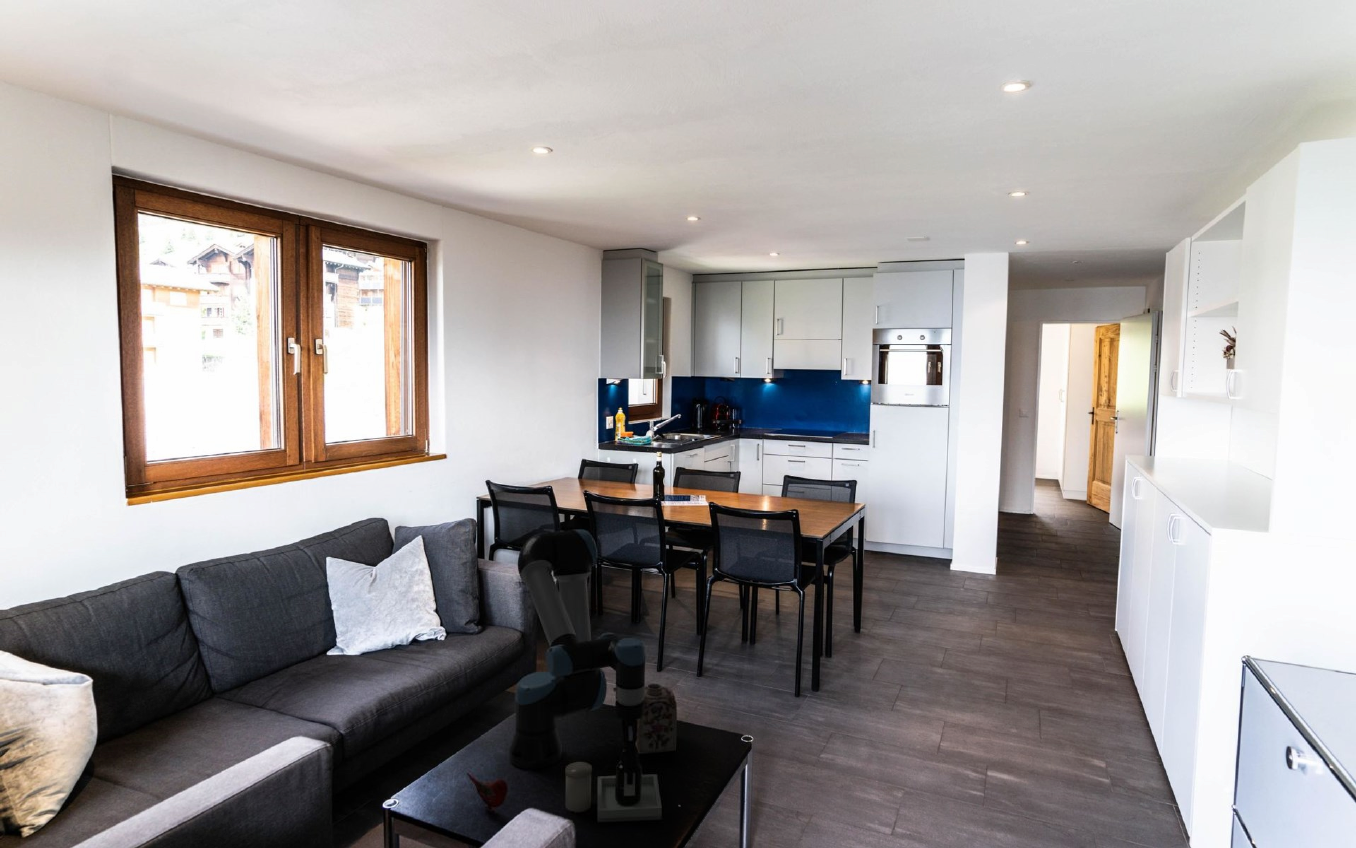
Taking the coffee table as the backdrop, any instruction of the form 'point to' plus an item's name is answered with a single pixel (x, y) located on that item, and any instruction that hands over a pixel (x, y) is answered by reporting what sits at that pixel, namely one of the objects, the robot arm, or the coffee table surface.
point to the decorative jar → (657, 721)
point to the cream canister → (578, 786)
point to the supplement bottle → (620, 782)
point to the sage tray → (642, 810)
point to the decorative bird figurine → (491, 792)
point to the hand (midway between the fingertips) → (628, 784)
